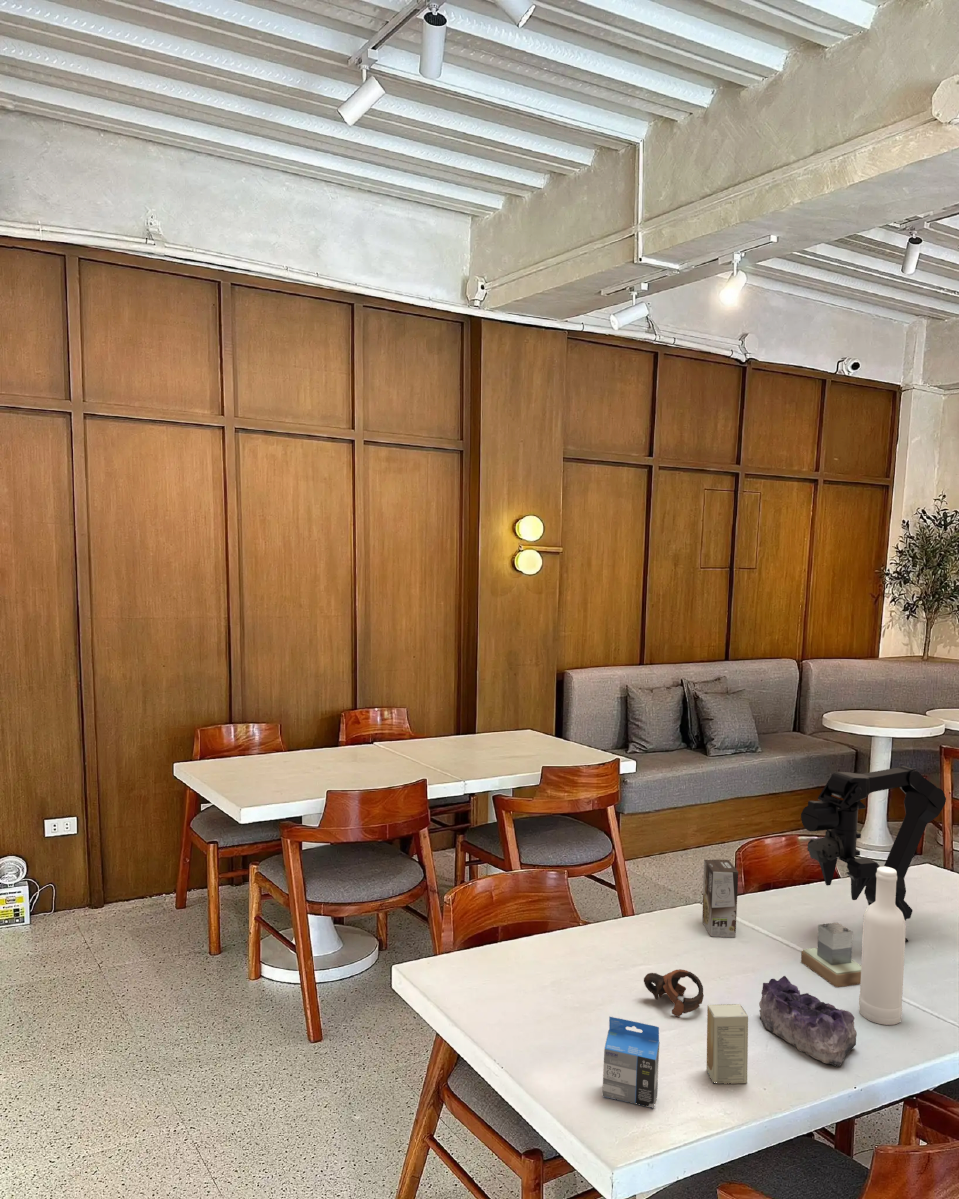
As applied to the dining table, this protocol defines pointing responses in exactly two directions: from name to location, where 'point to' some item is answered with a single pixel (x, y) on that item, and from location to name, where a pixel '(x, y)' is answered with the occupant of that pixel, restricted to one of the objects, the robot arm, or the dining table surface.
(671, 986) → the brown curved loop piece
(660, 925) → the dining table surface
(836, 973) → the riser
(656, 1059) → the label tape box
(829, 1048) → the geode
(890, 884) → the bottle
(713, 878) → the coffee box
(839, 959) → the block
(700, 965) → the dining table surface
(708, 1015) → the skincare box
